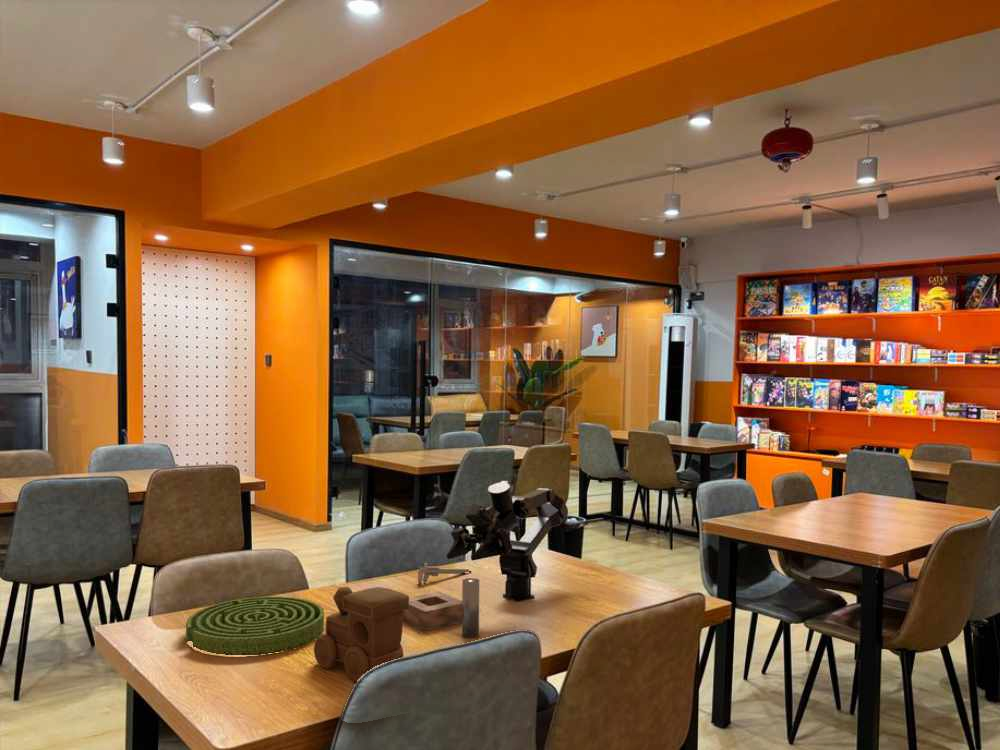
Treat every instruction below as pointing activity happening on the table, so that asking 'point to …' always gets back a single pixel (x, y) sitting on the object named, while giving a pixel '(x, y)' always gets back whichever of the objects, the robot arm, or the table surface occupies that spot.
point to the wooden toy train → (363, 630)
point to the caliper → (436, 572)
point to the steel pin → (470, 608)
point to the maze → (255, 625)
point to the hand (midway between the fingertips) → (459, 558)
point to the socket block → (433, 611)
